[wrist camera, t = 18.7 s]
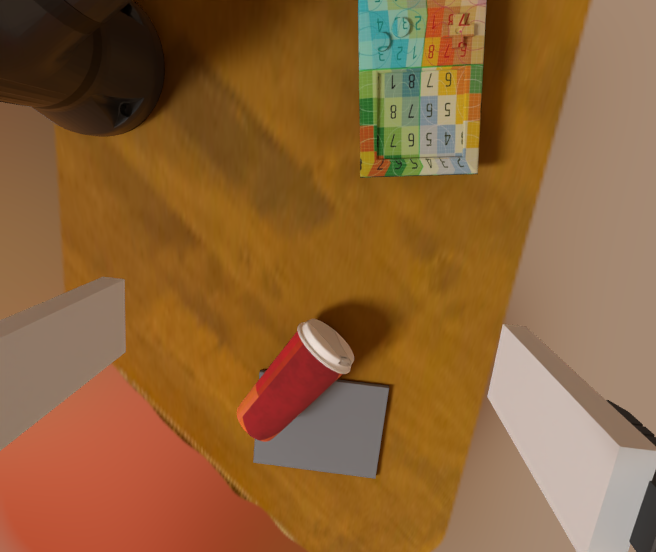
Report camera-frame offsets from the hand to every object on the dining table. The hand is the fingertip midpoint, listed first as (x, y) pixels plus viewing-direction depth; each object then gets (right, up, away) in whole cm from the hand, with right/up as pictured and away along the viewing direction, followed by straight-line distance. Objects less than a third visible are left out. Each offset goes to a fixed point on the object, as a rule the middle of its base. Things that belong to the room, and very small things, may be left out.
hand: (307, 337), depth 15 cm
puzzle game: (+10, +23, +30) cm, 39 cm away
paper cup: (-8, -15, +36) cm, 40 cm away
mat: (0, -17, +40) cm, 43 cm away
